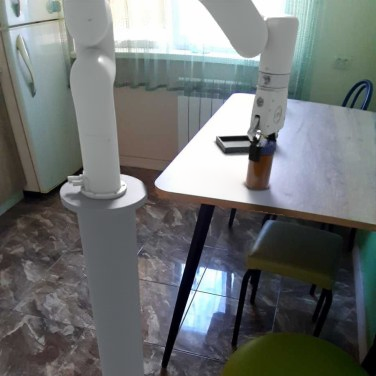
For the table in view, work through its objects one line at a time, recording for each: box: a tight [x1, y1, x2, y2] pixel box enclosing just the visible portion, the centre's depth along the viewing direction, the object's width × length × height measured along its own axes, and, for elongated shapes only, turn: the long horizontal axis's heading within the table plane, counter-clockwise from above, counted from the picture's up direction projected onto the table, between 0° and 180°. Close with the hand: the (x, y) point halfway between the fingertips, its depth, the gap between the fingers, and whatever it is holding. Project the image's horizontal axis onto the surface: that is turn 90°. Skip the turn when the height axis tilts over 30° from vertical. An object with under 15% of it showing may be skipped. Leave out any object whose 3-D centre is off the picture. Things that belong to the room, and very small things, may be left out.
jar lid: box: [249, 137, 277, 154], centre depth 108 cm, size 7×7×2 cm
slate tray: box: [215, 134, 250, 154], centre depth 137 cm, size 12×11×2 cm
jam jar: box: [245, 152, 275, 191], centre depth 111 cm, size 6×6×11 cm
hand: (261, 156), depth 109 cm, fingers closed on jar lid, 6 cm apart
